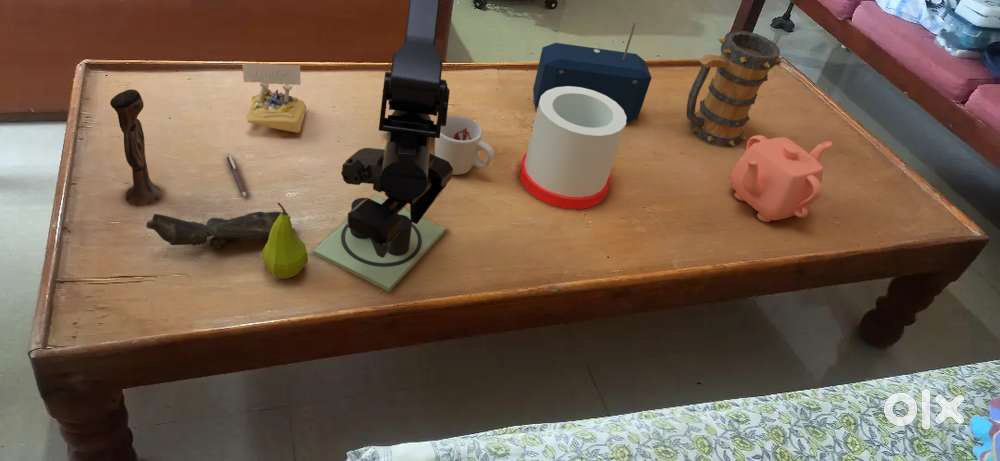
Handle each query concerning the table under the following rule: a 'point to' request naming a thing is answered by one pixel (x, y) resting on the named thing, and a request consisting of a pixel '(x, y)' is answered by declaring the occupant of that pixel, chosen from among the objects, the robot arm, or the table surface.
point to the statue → (213, 228)
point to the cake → (275, 97)
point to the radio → (595, 74)
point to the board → (367, 263)
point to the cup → (462, 144)
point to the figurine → (135, 148)
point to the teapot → (778, 177)
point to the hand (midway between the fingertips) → (397, 238)
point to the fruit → (284, 249)
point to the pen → (236, 175)
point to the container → (572, 147)
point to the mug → (731, 87)
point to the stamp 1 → (353, 208)
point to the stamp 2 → (402, 238)
